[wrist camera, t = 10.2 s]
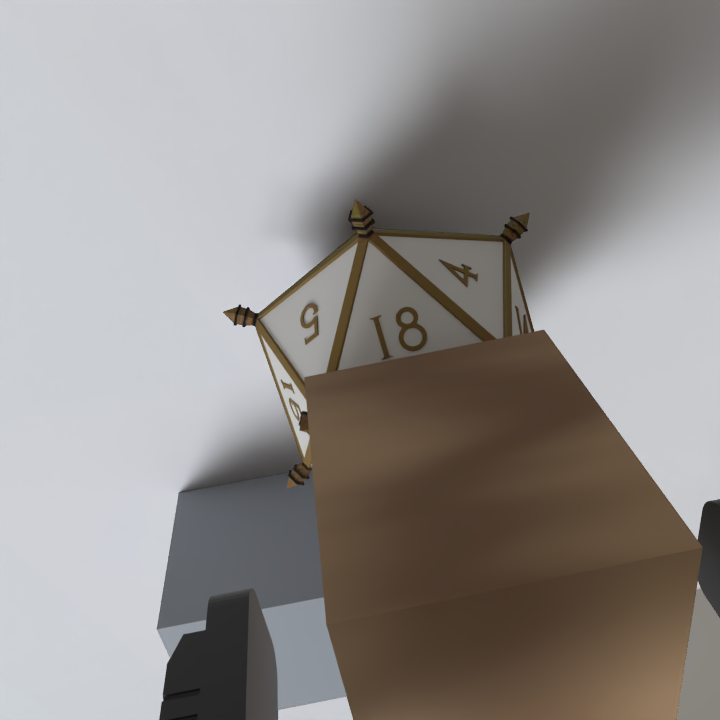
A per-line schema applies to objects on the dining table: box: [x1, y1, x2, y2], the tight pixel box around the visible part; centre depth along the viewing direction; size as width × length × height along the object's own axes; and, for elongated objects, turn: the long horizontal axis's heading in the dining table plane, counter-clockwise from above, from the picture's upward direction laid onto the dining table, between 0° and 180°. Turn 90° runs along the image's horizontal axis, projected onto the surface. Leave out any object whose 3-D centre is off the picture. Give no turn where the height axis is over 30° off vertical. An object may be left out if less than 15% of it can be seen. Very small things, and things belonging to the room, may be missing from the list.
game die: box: [223, 199, 534, 488], centre depth 19 cm, size 9×8×10 cm
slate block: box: [157, 470, 347, 710], centre depth 24 cm, size 5×5×6 cm
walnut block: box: [304, 330, 703, 720], centre depth 13 cm, size 5×5×6 cm
